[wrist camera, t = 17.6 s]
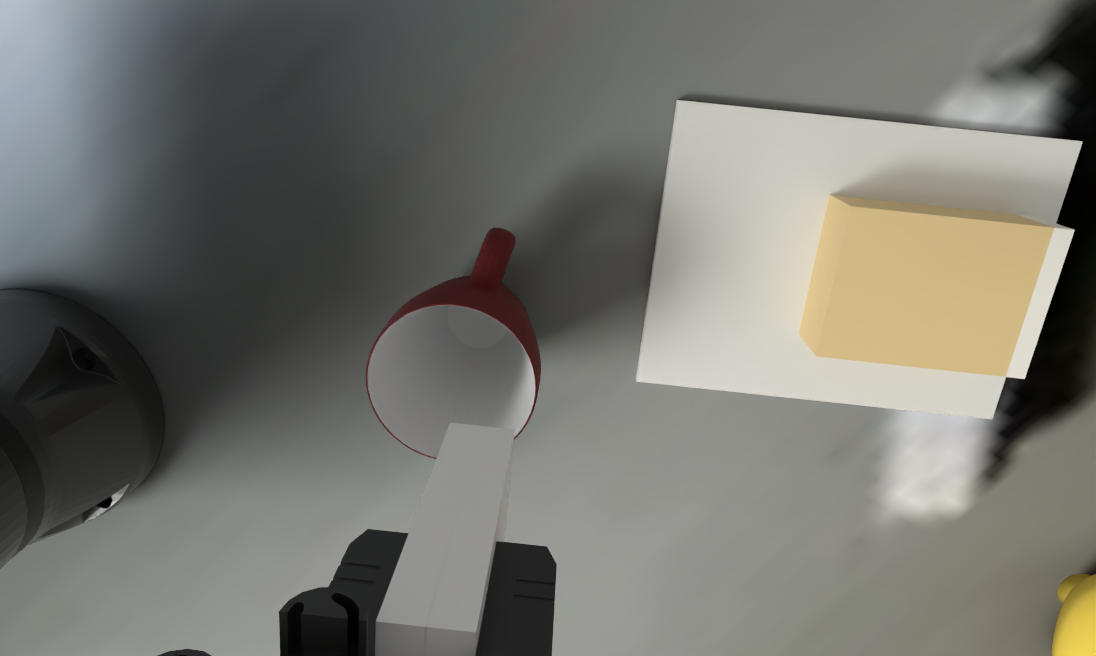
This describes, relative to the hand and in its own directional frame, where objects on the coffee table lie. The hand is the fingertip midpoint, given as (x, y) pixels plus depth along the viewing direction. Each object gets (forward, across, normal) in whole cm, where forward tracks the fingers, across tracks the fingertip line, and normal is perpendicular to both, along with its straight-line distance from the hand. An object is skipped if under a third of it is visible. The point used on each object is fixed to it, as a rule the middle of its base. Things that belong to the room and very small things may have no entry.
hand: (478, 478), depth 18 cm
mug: (+27, -3, -4) cm, 27 cm away
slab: (+24, +15, 0) cm, 28 cm away
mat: (+26, +17, 0) cm, 31 cm away
